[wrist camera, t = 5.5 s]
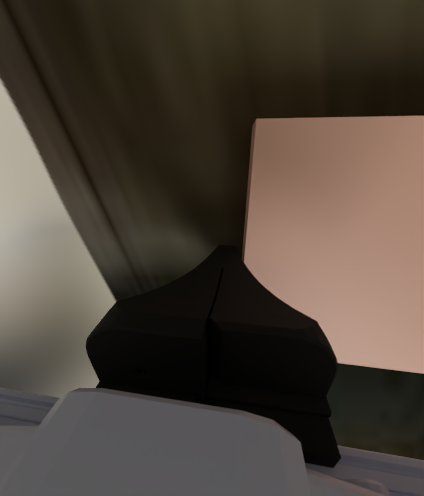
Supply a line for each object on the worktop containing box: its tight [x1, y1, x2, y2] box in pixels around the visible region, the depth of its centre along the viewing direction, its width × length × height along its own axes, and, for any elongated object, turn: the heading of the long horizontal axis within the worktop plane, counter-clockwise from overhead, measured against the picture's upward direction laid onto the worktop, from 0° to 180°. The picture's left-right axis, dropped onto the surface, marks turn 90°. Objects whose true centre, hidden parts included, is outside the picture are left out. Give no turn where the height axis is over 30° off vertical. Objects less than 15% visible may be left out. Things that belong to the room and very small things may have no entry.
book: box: [242, 116, 424, 373], centre depth 10 cm, size 12×15×3 cm
